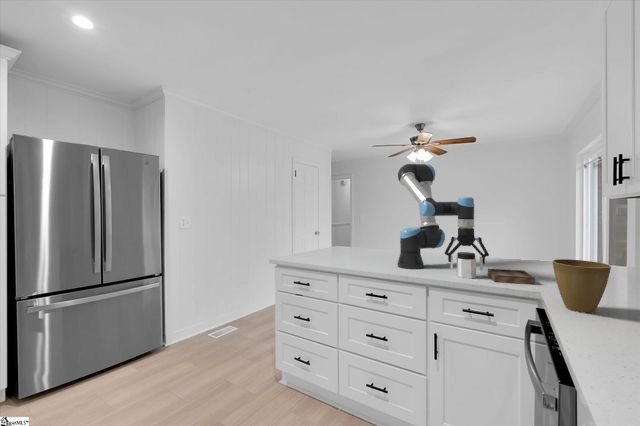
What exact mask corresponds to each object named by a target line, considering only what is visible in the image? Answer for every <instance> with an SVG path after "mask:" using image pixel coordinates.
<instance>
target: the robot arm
mask: <svg viewBox="0 0 640 426" xmlns="http://www.w3.org/2000/svg"><path fill="white" fill-rule="evenodd" d="M435 179H436V170H435V167H433V166H432V165H431V164H426V163H406V164H403V165H402V166H401V167H400V169H399V170H398V172H397V180H398V181H399V183H400V184H401V185H402V186H405V188H406V189H407V191H408V192H409V193H410V194H411V195H412V197H413V198H414V200H415V201H416V202H417V203H418V209H419V217H420V226H418V227H417V226H416V227H415V226H414V227H406V228H402V229H401V230H400V233H399V234H400V235H399V239H400V240H399V241H400V243H399V245H400V249H399V250H400V252H399V254H400V255H399V257H398V261H397V267H398V268H401V269H411V270H412V269H413V270H417V269H423V268H425V265H424V264H425V263H424V260H423V257H422V254H421V250H422V249H438V248H439V249H440V248H441V247H442V246H443V245H444V243H445V240H446V233H445V231H444V230H443V229H441V228H440V224H438V223H437V221H436V217H440V216H441V217H446V216H447V217H452V216H453V217H456V216H457V227H458V228H457V237H454V236H451V238H450V241H449V244H448V246H447V247H446V249H445V251H444V254H445V255H446V256H447V260H448V263H450V269H451V270H453V266H454V265H453V263H454V262H453V261H454V259H453V258H454V257H453V254H454V253H456V251H457V250H458V249H459V248H460V247H461V246H462V247H471V246H472V247H473V249H475V250H476V252H477V253H478V254H479V255H480V256H479V270H480V271H483V267H484V266H483V265H484V264H485V263H486V257H489V256H490V254H489V252H488V250H487V248H486V247H485V245H484V243H483V241H482V237H480V236H478V237H475V199H474V197H472V196H467V197H466V196H465V197H462V196H461V197H458V198H457V201H436V200H435V199H434V198H433V193H432V187H431V186H432V185H433V184H434V183H433V182H434V181H435ZM456 241H457V242H458V243H457V244H455V245H454V247H453V244H454V242H456ZM475 242H478V244H479V245H480V248H481V249H482V251H483V252H484V253H483V252H482V251H481V249H479V248H478V247H477V245H475ZM452 247H453V248H452ZM451 248H452V249H451Z"/></svg>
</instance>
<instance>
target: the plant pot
mask: <svg viewBox="0 0 640 426" xmlns="http://www.w3.org/2000/svg"><path fill="white" fill-rule="evenodd" d="M552 268H553V274H554V278H555V281H556V285H557V288H558V291H559V295H560V297H561V300H562V302H563V305H564V307H565V308H566V309H567V308H568V310H569V309H570V311H572V310H574V311H573V312H576V311H581V312H593V313H595V312H596V310H597V308H598V306H599V305H600V303H601V300H602V298H603V295H604V293H605V291H606V288H607V284H608V282H609V278H610V272H611V268H612V266H611V265H610V264H608V263H603V262H598V261H593V260H591V261H590V260H582V259H569V258H564V259H563V258H560V259H559V258H556V259H553V260H552ZM581 312H580V313H581Z"/></svg>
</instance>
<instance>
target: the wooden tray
mask: <svg viewBox="0 0 640 426" xmlns="http://www.w3.org/2000/svg"><path fill="white" fill-rule="evenodd" d="M487 276H488V277H489V278H490V279H491V280H492V281H493V282H494V283H502V284H503V283H504V284H516V285H517V284H519V285H531V286H532V285H534V286H535V285H536V277H535V276H533V275H532V274H530V273H528V272H527V271H526V270H521V269H520V270H518V269H502V268H501V269H500V268H487Z"/></svg>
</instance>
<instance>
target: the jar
mask: <svg viewBox="0 0 640 426" xmlns="http://www.w3.org/2000/svg"><path fill="white" fill-rule="evenodd" d="M456 254H457V257H456V277H459V278H461V279H474V278H477V258H476V253H474V252H468V251H461V252H460V251H458V252H457V253H456Z"/></svg>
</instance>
